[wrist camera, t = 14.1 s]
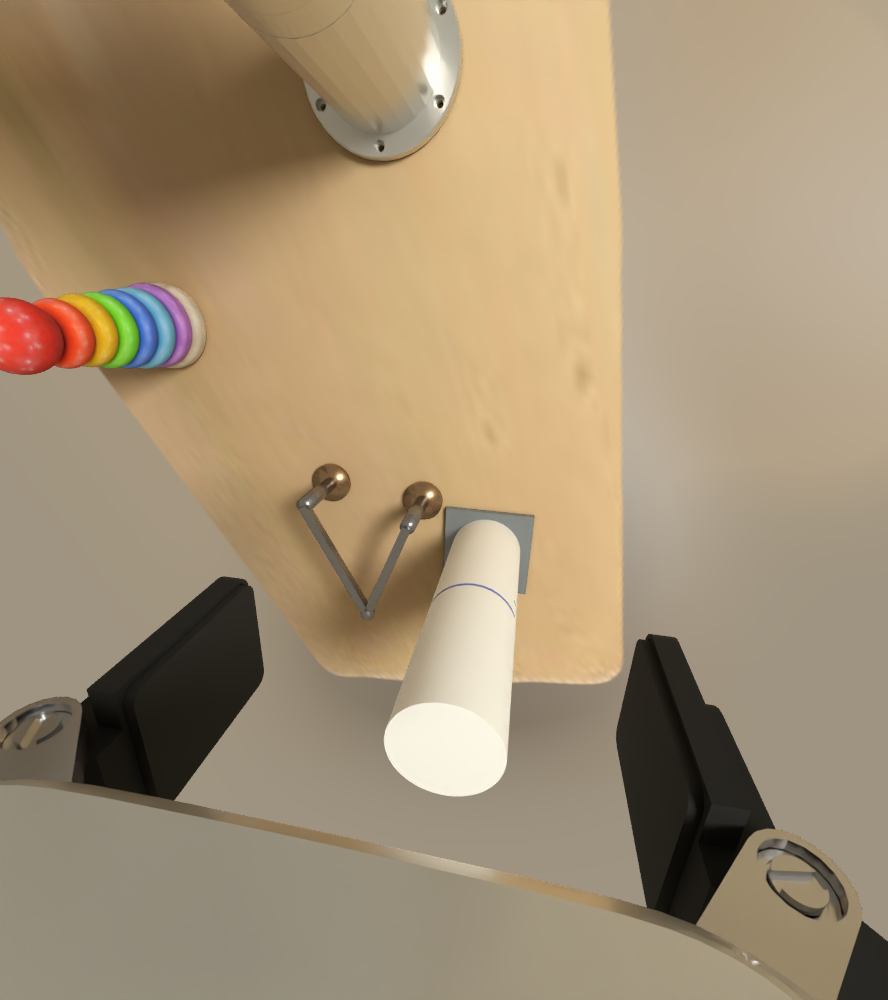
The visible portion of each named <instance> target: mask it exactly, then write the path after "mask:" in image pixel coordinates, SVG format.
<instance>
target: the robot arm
mask: <svg viewBox="0 0 888 1000" xmlns="http://www.w3.org/2000/svg"><path fill="white" fill-rule="evenodd" d="M224 1H225V2H226V3H227V4H228V5H229V6H230V7H231V8H232V9H233V10H234V11H235V12H236V13H237V14H238V15H239V16H240V17H241V18H242V19H243V20H244V21H245V22H246V23H247V24H248V25H249V26H250V27H251V28H252V29H253V30H254V31H255V32H256V33H257V34H258V35H259V36H260V37H261V38H262V39H263V40H264V41H265V42H266V43H267V44H268V45H269V46H270V47H271V48H272V49H273V50H274V51H275V52H276V53H277V54H278V55H279V56H280V57H281V58H282V59H283V60H284V61H285V62H286V63H287V64H288V65H289V66H290V67H291V68H292V69H293V70H294V71H295V72H296V73H297V74H298V75H299V76H300V77H301V78H302V79H303V83H304V86H305V90H306V93H307V97H308V100H309V102H310V104H311V107H312V109H313V111H314V113H315V115H316V117H317V119H318V120H319V122H320V123H321V125H322V126H323V128H324V129H325V130H326V131H327V132H328V133H329V135H330V136H331V137H332V138H333V139H334V140H335V141H336V142H337V143H339V144H340V145H341V146H342V147H344V148H345V149H346V150H348V151H350V152H352V153H354V154H355V155H357V156H359V157H363V158H366V159H370V160H377V161H389V160H394V159H400V158H402V157H405V156H407V155H409V154H412V153H414V152H415V151H417V150H418V149H419V148H421V147H422V146H424V145H425V144H426V143H427V142H428V141H429V140H430V139H431V138H432V137H433V136H434V135H435V134H436V133H437V132H438V130H439V129H440V127H441V126H442V124H443V123H444V121H445V120H446V118H447V117H448V115H449V112H450V110H451V108H452V105H453V103H454V101H455V98H456V94H457V91H458V87H459V83H460V78H461V69H462V39H461V33H460V28H459V23H458V19H457V15H456V12H455V9H454V5H453V3H452V1H451V0H224ZM443 10H446V12H445V14H443V15H440V14H441V12H442V11H443ZM441 102H442V103H444V106H443V107H442V108H440V109H439V108H438V105H439V103H441ZM324 106H326V109H325V110H324V111H323V107H324ZM381 146H384V150H383V151H382V152H380V147H381ZM263 674H264V667H263V659H262V651H261V644H260V637H259V629H258V621H257V614H256V607H255V599H254V591H253V588H252V587H251V586H248V583H247V581H246V580H244V579H239V578H231V577H220V578H218V579H217V580H216V581H215V582H214V583H212V584H211V585H210V586H209V587H208V588H207V589H205V590H204V591H203V592H202V593H201V594H199V595H198V596H197V597H196V598H195V599H193V600H192V601H191V602H190V603H189V604H188V605H186V606H185V607H184V608H183V609H182V610H180V611H179V612H178V613H177V614H176V615H174V616H173V617H172V618H171V619H170V620H168V621H167V622H166V623H165V624H164V625H163V626H161V627H160V628H159V629H158V630H157V631H155V632H154V633H153V634H152V635H151V636H149V637H148V638H147V639H146V640H145V641H144V642H142V643H141V644H140V645H139V646H138V647H136V648H135V649H134V650H133V651H132V652H130V653H129V654H128V655H127V656H126V657H125V658H123V659H122V660H121V661H120V662H119V663H118V664H116V665H115V666H114V667H113V668H111V669H110V670H109V671H108V672H107V673H105V675H103V676H102V677H101V678H100V679H98V680H97V681H96V682H95V683H94V684H92V685H91V686H90V687H89V688H88V689H87V692H88V696H89V697H87V698H86V699H85V700H84V701H83V702H82V703H79V702H78V701H77V700H76V699H73V698H70V697H54V698H48V699H43V700H40V701H37V702H35V703H32V704H29V705H27V706H25V707H23V708H21V709H19V710H17V711H15V712H13V713H12V714H10V715H9V716H8V717H6V718H5V719H3V720H2V721H1V722H0V1000H888V941H886V940H885V939H883V937H882V936H880V935H879V934H878V933H876V932H875V931H874V930H873V929H871V928H870V927H869V926H868V925H867V924H865V923H864V922H863V921H862V907H861V904H860V901H859V898H858V895H857V892H856V890H855V889H854V887H853V886H852V884H851V882H850V881H849V879H848V878H847V876H846V875H845V874H844V873H843V872H842V870H841V869H840V868H839V867H838V866H837V865H836V864H835V863H834V861H833V860H832V859H831V858H829V857H828V856H827V855H826V854H824V853H823V852H822V851H821V850H819V849H818V848H817V847H816V846H814V845H813V844H811V843H809V842H807V841H806V840H804V839H802V838H800V837H799V836H796V835H794V834H791V833H788V832H785V831H783V830H776V829H775V827H774V825H773V823H772V821H771V818H770V816H769V814H768V812H767V810H766V807H765V806H764V803H763V801H762V799H761V797H760V794H759V792H758V790H757V788H756V786H755V784H754V782H753V779H752V777H751V775H750V773H749V771H748V769H747V766H746V764H745V762H744V760H743V758H742V756H741V753H740V751H739V749H738V747H737V745H736V743H735V741H734V738H733V736H732V734H731V732H730V730H729V727H728V725H727V723H726V721H725V719H724V717H723V715H722V713H721V712H720V710H719V708H717V707H716V706H714V705H708V704H705V702H704V700H703V698H702V695H701V693H700V690H699V688H698V686H697V684H696V681H695V679H694V677H693V674H692V672H691V670H690V667H689V665H688V663H687V660H686V658H685V656H684V653H683V651H682V649H681V646H680V644H679V642H678V640H677V639H676V638H674V637H668V636H660V635H653V634H648V635H647V637H646V640H641V639H639V640H638V641H637V644H636V648H635V652H634V656H633V661H632V665H631V669H630V674H629V678H628V683H627V687H626V691H625V695H624V700H623V704H622V709H621V713H620V717H619V721H618V726H617V733H616V742H617V750H618V755H619V760H620V766H621V771H622V777H623V782H624V787H625V792H626V798H627V803H628V808H629V814H630V819H631V825H632V830H633V835H634V841H635V846H636V852H637V857H638V862H639V868H640V873H641V879H642V884H643V889H644V895H645V900H646V905H647V908H646V907H642V906H639V905H635V904H632V903H629V902H625V901H622V900H619V899H615V898H611V897H607V896H603V895H599V894H595V893H590V892H586V891H582V890H578V889H574V888H570V887H565V886H561V885H557V884H553V883H549V882H545V881H541V880H537V879H532V878H528V877H524V876H520V875H515V874H511V873H506V872H501V871H497V870H493V869H488V868H483V867H479V866H475V865H470V864H465V863H461V862H456V861H452V860H448V859H443V858H438V857H434V856H430V855H425V854H421V853H416V852H411V851H407V850H403V849H398V848H393V847H388V846H384V845H379V844H375V843H370V842H365V841H361V840H357V839H352V838H347V837H342V836H338V835H333V834H329V833H324V832H320V831H315V830H310V829H306V828H301V827H296V826H292V825H287V824H282V823H277V822H273V821H268V820H264V819H259V818H254V817H249V816H245V815H240V814H235V813H230V812H226V811H221V810H216V809H211V808H206V807H202V806H196V805H192V804H187V803H182V802H178V801H174V800H175V799H176V797H177V796H178V795H179V793H180V792H181V791H182V789H183V788H184V786H185V785H186V784H187V782H188V781H189V780H190V778H191V777H192V776H193V774H194V773H195V772H196V770H197V769H198V767H199V766H200V765H201V763H202V762H203V761H204V759H205V758H206V757H207V755H208V754H209V753H210V751H211V750H212V749H213V747H214V746H215V745H216V743H217V742H218V740H219V739H220V738H221V736H222V735H223V734H224V732H225V731H226V730H227V728H228V727H229V726H230V724H231V723H232V722H233V720H234V718H236V716H237V715H238V713H239V712H240V711H241V709H242V708H243V707H244V705H245V704H246V703H247V701H248V700H249V698H250V697H251V696H252V694H253V693H254V692H255V690H256V689H257V688H258V686H259V685H260V683H261V681H262V678H263Z"/></svg>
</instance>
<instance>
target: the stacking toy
mask: <svg viewBox="0 0 888 1000" xmlns="http://www.w3.org/2000/svg"><path fill="white" fill-rule="evenodd" d="M205 344H206V326H205V322H204V319H203V316H202V314H201V311H200V309H199V308H198V306H197V304H196V303H195V302H194V300H193V299H192V298H191V297H190V296H189V295H188V294H187V293H185V292H184V291H183V290H181V289H179V288H178V287H176V286H174V285H171V284H168V283H163V282H152V283H137V284H133V285H130V286H128V287H123V288H118V289H107V290H102V291H99V292H87V293H83V294H65V295H62V296H60V297H58V298H57V299H54V298H45V299H40V300H38V301H36V302H34V303H32V304H31V303H29V302H26V301H24V300H20V299H16V298H0V370H2V371H5V372H8V373H12V374H20V375H31V374H37V373H41V372H43V371H46V370H48V369H50V368H51V367H52V366H57V367H60V368H69V369H70V368H77V367H80V366H86V367H98V366H100V367H103V368H119V367H121V368H143V369H150V368H155V367H167V368H183V367H186V366H189V365H191V364H192V363H194V362H195V361H196V360H197V359H198V358H199V357H200V356H201V354H202V352H203V350H204V347H205Z"/></svg>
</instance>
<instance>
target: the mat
mask: <svg viewBox="0 0 888 1000" xmlns="http://www.w3.org/2000/svg"><path fill="white" fill-rule="evenodd" d="M476 520H492V521H496V522H499V523H501V524H503V525H505V526H506V527H508V528H509V529H510V530H511V531H512V532H513V533H514V535H515V536H516V538H517V540H518V542H519V546H520V564H519V580H518V593H520V594H525V593H526V584H527V576H528V567H529V559H530V550H531V541H532V533H533V524H534V515H525V514H516V513H506V512H496V511H487V510H477V509H467V508H457V507H448V506H447V508H446V522H445V546H444V566H445V563H446V560H447V557H448V555H449V552H450V549H451V546H452V543H453V541H454V538H455V536H456V534H457V533H458V531H459V530H460V529H461V528H462V527H463V526H465V525H466V524H468V523H470V522H473V521H476Z"/></svg>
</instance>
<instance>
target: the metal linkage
mask: <svg viewBox="0 0 888 1000" xmlns="http://www.w3.org/2000/svg"><path fill="white" fill-rule="evenodd" d="M313 486H314V489H312V490H311V491H310V492H309V493H307V494H306V495H305V496H304V497H302V498H301V499H300V500H299V501H298V502H297V508H298V510H299V511H300V513H301V515H302V516H303V518H304V519H305V521H306V523H307V524H308V526H309V528H310V529H311V531H312V533H313V534H314V536H315V538H316V539H317V541H318V543H319V544H320V546H321V548H322V549H323V551H324V553H325V554H326V556H327V558H328V559H329V561H330V563H331V564H332V566H333V568H334V569H335V571H336V572H337V574H338V576H339V577H340V579H341V581H342V582H343V584H344V586H345V587H346V589H347V591H348V592H349V594H350V596H351V597H352V599H353V601H354V602H355V604H356V606H357V607H358V609H359V611H360V612H361V617H362V618H363V619H364V620H371V619H372V618H373V617H374V615H375V611H374V609H375V606H376V604H377V602H378V600H379V598H380V596H381V593H382V591H383V589H384V587H385V585H386V583H387V581H388V578H389V576H390V574H391V572H392V570H393V568H394V565H395V563H396V561H397V559H398V557H399V555H400V553H401V550H402V548H403V546H404V544H405V542H406V540H407V538H408V535H409V534H411V533H413V532H414V530H415V528H416V526H417V525H418V523H419V521H420V519H430V518H432V517H434V516H436V515H437V514H438V512H439V511H440V509H441V507H442V502H443V501H442V495H441V493H440V491H439V490H438V488H437V487H436V486H434V485H433V484H431V483H428V482H416V483H414V484H412V485H411V486H410V487H409V488H408V489H407V491H406V493H405V495H404V505H405V507H406V509H407V511H408V513H407V514H406V516H405V517H404V519H403V520H402V522H401V524H400V530H401V531H400V533H399V535H398V537H397V540H396V542H395V544H394V546H393V548H392V551H391V553H390V555H389V557H388V559H387V562H386V564H385V566H384V568H383V571H382V573H381V575H380V577H379V579H378V582H377V584H376V586H375V588H374V590H373V593H372V595H371V597H370V599H369V601H368V602H367V600H366V598H365V597H364V595H363V593H362V592H361V590H360V588H359V586H358V585H357V583H356V581H355V580H354V578H353V576H352V575H351V573H350V571H349V570H348V568H347V566H346V565H345V563H344V561H343V560H342V558H341V556H340V555H339V553H338V551H337V550H336V548H335V546H334V544H333V543H332V541H331V539H330V538H329V536H328V534H327V533H326V531H325V529H324V528H323V526H322V524H321V523H320V521H319V519H318V518H317V516H316V514H315V513H314V511H313V509H312V508H314V507H315V506H316V505H317V504H318V503H319V502H320V501H321V500H323V499H326V500H329V501H338V500H341V499H342V498H344V497H345V496H346V495H347V493H348V492H349V490H350V486H351V483H350V478H349V476H348V474H347V472H346V471H345V470H344V469H343V468H341V467H340V466H338V465H335V464H326V465H323V466H321V467H320V468H319V469H317V470H316V472H315V473H314V476H313Z"/></svg>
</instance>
